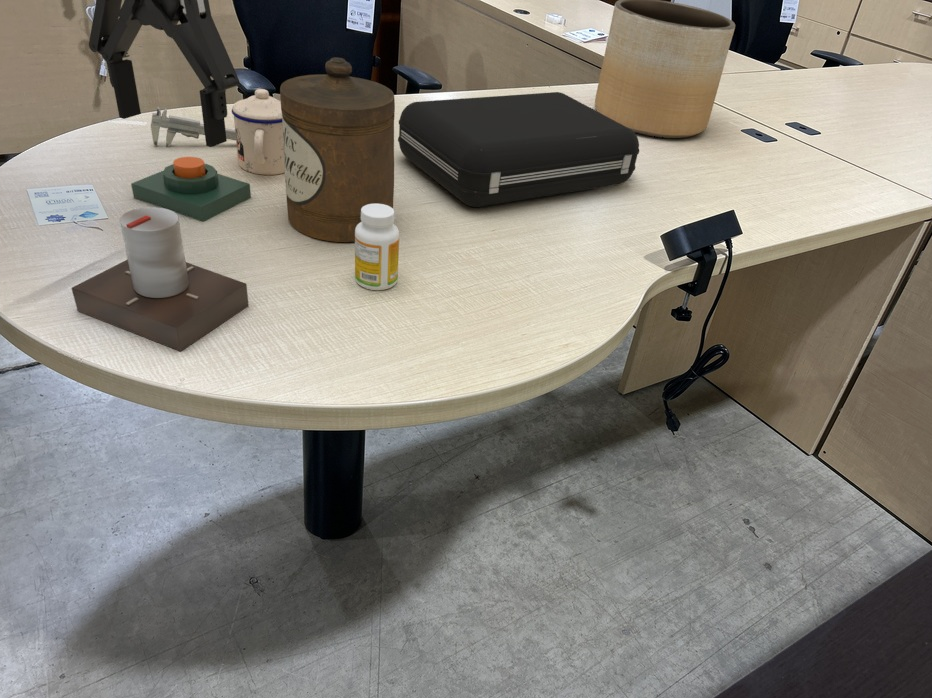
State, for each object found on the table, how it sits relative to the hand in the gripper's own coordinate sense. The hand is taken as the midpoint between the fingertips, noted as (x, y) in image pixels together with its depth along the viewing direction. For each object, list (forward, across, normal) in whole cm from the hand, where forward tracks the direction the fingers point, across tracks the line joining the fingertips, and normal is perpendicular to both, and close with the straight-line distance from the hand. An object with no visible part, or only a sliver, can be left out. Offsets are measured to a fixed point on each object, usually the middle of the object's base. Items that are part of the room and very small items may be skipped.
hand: (172, 129), depth 92 cm
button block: (+13, -5, +6) cm, 15 cm away
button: (+9, -5, +6) cm, 12 cm away
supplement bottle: (+13, +28, +2) cm, 31 cm away
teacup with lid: (+13, -4, +22) cm, 25 cm away
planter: (+13, +39, +98) cm, 106 cm away
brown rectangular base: (+13, +13, -17) cm, 25 cm away
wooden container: (+13, +15, +14) cm, 24 cm away
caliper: (+13, -15, +24) cm, 31 cm away
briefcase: (+13, +25, +50) cm, 58 cm away
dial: (+10, +13, -17) cm, 23 cm away
